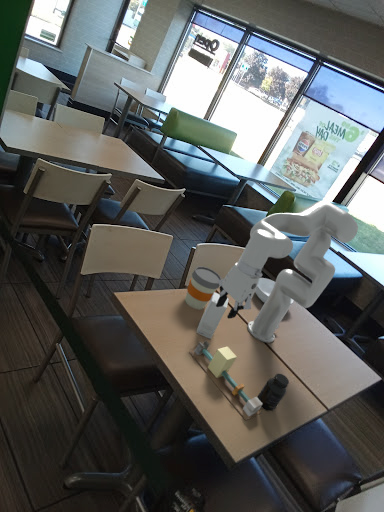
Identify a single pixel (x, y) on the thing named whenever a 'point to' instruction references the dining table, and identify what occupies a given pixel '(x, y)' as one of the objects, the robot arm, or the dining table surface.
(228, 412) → the dining table surface
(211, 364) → the pale yellow block
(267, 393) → the supplement bottle
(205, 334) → the skincare box
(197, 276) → the reusable coffee cup
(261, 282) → the serving bowl
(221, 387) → the cable board
